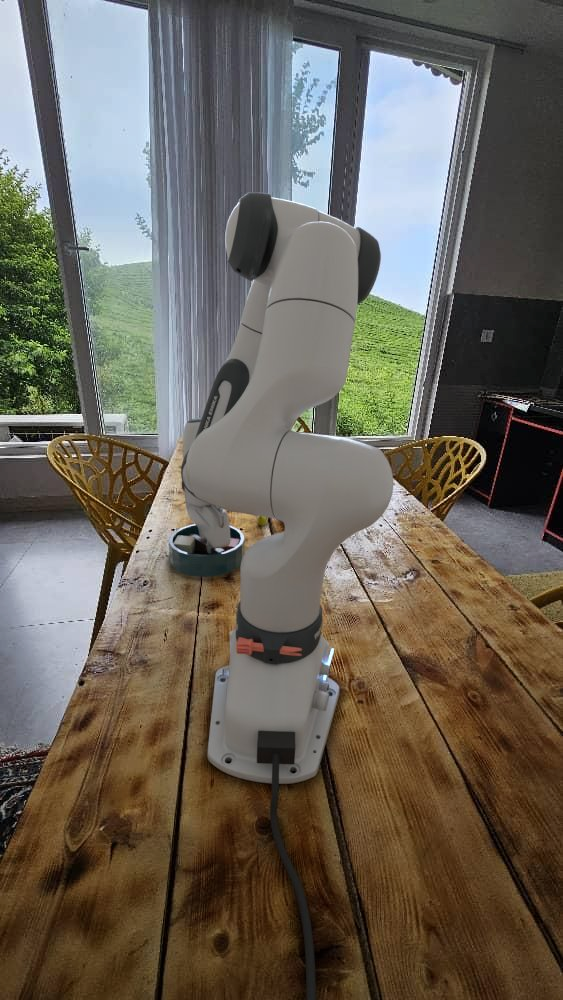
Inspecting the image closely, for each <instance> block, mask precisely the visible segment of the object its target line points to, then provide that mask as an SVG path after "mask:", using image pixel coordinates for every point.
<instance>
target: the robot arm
mask: <svg viewBox="0 0 563 1000" xmlns="http://www.w3.org/2000/svg"><path fill="white" fill-rule="evenodd" d="M224 235H225V237H224V244H225V250H226V254H227V255H226V256H227V258H226V260H227V262H228V264H229V266H230V267H231V269H232V272H234V273H236V274H237V275H239V276H241V277H242V278H244V279H246V280H248V281H250V282H251V285H250V288H249V291H248V293H247V296H246V300H245V303H244V306H243V310H242V314H241V318H240V322H239V326H238V331H237V334H236V337H235V339H234V342H233V345H232V347H231V349H230V352H229V354H228V356H227V358H226V360H225V361H224V363H223V364H222V366H221V367H220V368H219V370H218V372H217V374H216V376H215V378H214V381H213V384H212V386H211V389H210V391H209V395H208V398H207V401H206V404H205V407H204V410H203V413H202V416H201V417H196V418H192V419H190V420H188V421H187V422H186V423H185V425H184V427H183V434H182V457H183V458H182V462H181V467H180V476H181V489H182V491H183V492H184V501H185V509H186V512H187V515H188V517H189V518H190V519H191V520H192V522H193V523H194V524H196V526H197V527H198V530H199V534H200V537H201V540H202V541H203V542H204V541H207V544H206V551H207V552H208V553H209V554H210V553H211V548H222V547H226V546H229V544H230V526H231V524H230V517H229V514H228V512H233V513H238V514H239V513H240V514H245V515H250V516H257V517H259V516H262V517H268V518H269V519H275V520H276V521H279V522H282V523H283V525H284V531H280V532H279V533H278V532H277V533H274V534H271V535H267V536H266V537H263V538H261V539H259V540H257V541H255V542H254V543H252V544H251V545H250V546H249V547H248V548H247V549H246V551H244V556H243V558H242V561H241V565H240V566H239V568H240V569H239V570H240V574H239V575H240V579H239V582H240V583H239V585H240V586H239V588H240V591H239V597H240V598H239V599H240V600H239V602H238V604H237V610H236V613H235V628H233V629H232V630H231V631H230V632H229V662H228V663H229V664H228V665H225V666H223V667H221V668H219V669H217V671H216V672H215V677H214V686H213V695H212V705H211V714H210V723H209V733H208V742H207V743H208V745H207V755H206V756H207V757H206V758H207V760H208V762H209V763H210V764H212V766H214V767H215V768H217V769H218V770H220V771H221V772H223V773H225V774H227V775H229V776H232V777H235V778H238V779H242V780H244V781H245V780H246V781H251V782H256V783H261V784H262V783H263V784H269V785H270V784H271V793H270V794H271V795H270V806H269V807H270V808H269V821H270V827H271V833H272V838H273V841H274V843H275V846H276V849H277V851H278V854H279V857H280V860H281V862H282V864H283V867H284V869H285V871H286V873H287V876H288V877H289V878H288V879H289V880H290V882H291V885H292V887H293V890H294V893H295V896H296V901H297V904H298V908H299V914H300V921H301V925H302V926H301V927H302V934H303V943H304V955H305V991H306V993H305V994H306V996H305V997H306V998H305V1000H317V986H316V961H315V946H314V938H313V929H312V923H311V916H310V912H309V911H310V910H309V907H308V902H307V899H306V895H305V891H304V888H303V885H302V882H301V880H300V877H299V875H298V873H297V871H296V868H295V866H294V864H293V862H292V860H291V858H290V856H289V853H288V852H287V849H286V847H285V844H284V841H283V837H282V836H281V831H280V828H279V827H280V825H279V820H278V806H279V794H280V793H279V792H280V788H279V787H280V785H288V784H289V785H290V784H297V783H301V782H305V781H309V780H310V779H312V778H314V777H316V776H317V774H318V772H319V768H320V766H321V762H322V759H323V754H324V751H325V747H326V744H327V740H328V736H329V733H330V729H331V726H332V723H333V719H334V715H335V711H336V708H337V705H338V702H339V697H340V686H339V685H338V683H337V682H335V681H334V680H333V679H331V678H329V676H330V672H331V662H332V658H333V655H334V650H335V648H331V644H330V643H329V641H327V639H326V638H325V637H324V636H323V634H322V629H323V624H324V623H323V622H324V618H323V607H322V605H321V598H322V590H323V585H324V579H325V573H326V569H327V566H328V564H329V562H330V559H331V557H332V556H333V554H334V553H335V552H336V550H337V549H338V548H339V547H340V546H341V545H342V544H343V543H344V542H345V541H346V540H347V539H349V538H350V537H352V536H353V535H355V534H357V533H359V532H361V531H363V530H365V529H368V528H369V527H371V526H372V525H374V524H375V523H376V522H377V521H378V520H379V519H381V517H382V516H383V515H384V514H385V512H386V510H387V509H388V507H389V505H390V503H391V499H392V497H393V491H394V475H393V470H392V467H391V464H390V462H389V460H388V457H386V455H385V454H384V452H383V451H382V450H381V449H380V448H379V447H376V446H373V445H370V444H367V443H364V442H361V441H358V440H355V439H351V438H348V437H345V436H338V435H330V434H329V435H328V434H320V433H311V432H302V431H295V430H294V431H293V427H294V424H295V423H296V421H297V420H298V418H299V417H300V416H301V415H302V414H303V413H305V412H307V411H308V410H310V409H313V408H314V407H317V406H320V405H323V404H324V403H327V402H329V401H330V400H332V399H333V398H334V397H335V396H337V395H338V394H339V393H340V391H342V388H343V387H344V385H345V384H346V381H347V377H348V370H349V364H350V358H351V350H352V345H353V338H354V331H355V325H356V318H357V311H358V305H360V304H361V303H363V302H364V301H365V300H367V298H368V296H369V295H370V294H371V292H372V290H373V288H374V286H375V284H376V281H377V278H378V275H379V271H380V268H381V267H380V266H381V259H382V254H381V253H382V252H381V248H380V243H379V241H378V240H377V239H376V237H374V236H373V235H372V234H371V233H370V232H368V231H367V230H365V229H363V228H361V227H360V226H356V227H354V226H352V225H351V224H349V223H346V222H345V221H344V220H341V219H339V218H338V217H334V216H332V215H330V214H328V213H325V212H323V211H320V210H319V209H318V208H316V207H313V206H310V205H307V204H305V203H304V204H303V203H300V202H295V201H292V200H287V199H283V198H277V197H272V193H266V192H261V191H260V192H258V191H249V192H246V194H244V195H243V196H241V197H240V198H239V199H238V201H237V204H236V205H235V206H234V208H233V210H232V211H231V213H230V215H229V217H228V220H227V223H226V228H225V234H224ZM268 518H267V519H268ZM330 648H331V649H330ZM228 762H230V763H228ZM293 772H295V773H293Z"/></svg>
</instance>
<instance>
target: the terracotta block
mask: <svg viewBox="0 0 563 1000" xmlns="http://www.w3.org/2000/svg"><path fill="white" fill-rule="evenodd" d="M239 542H240V539H234V538H230V544H229V546H226V547H222V549H224V550H225V551H228V550H230V549H232V548H234V547H235V546H237V545H238V544H239Z"/></svg>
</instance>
